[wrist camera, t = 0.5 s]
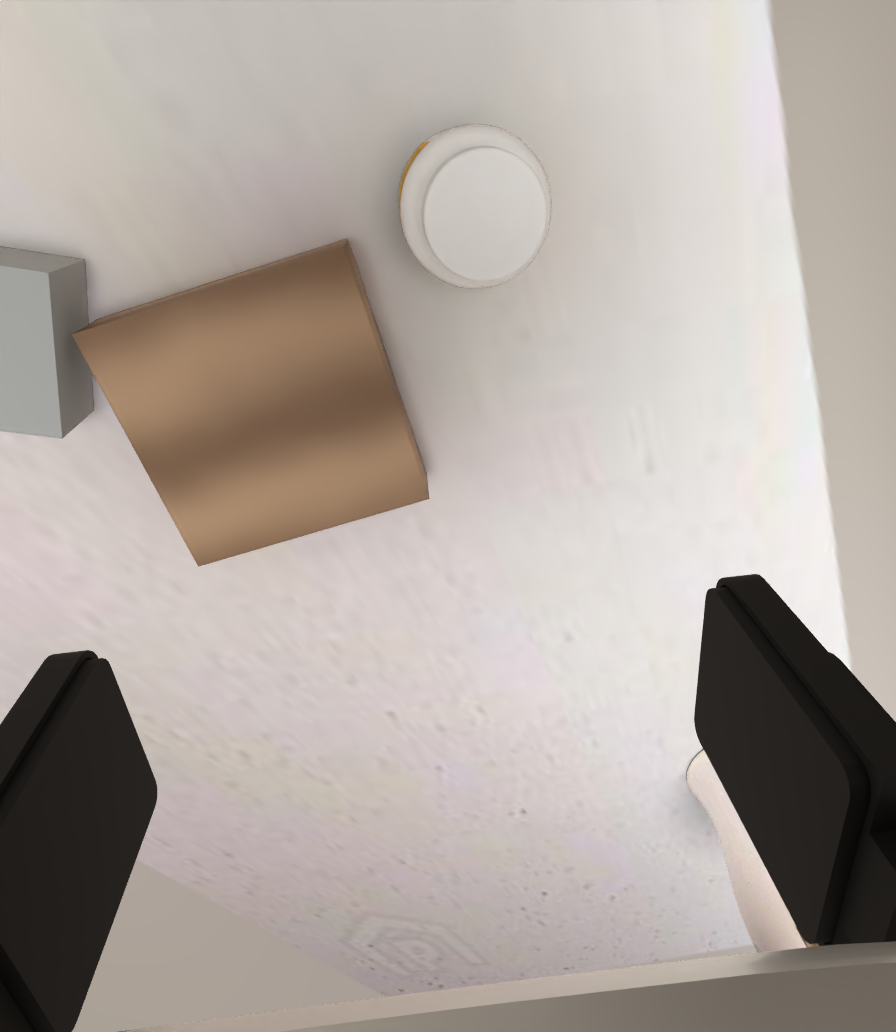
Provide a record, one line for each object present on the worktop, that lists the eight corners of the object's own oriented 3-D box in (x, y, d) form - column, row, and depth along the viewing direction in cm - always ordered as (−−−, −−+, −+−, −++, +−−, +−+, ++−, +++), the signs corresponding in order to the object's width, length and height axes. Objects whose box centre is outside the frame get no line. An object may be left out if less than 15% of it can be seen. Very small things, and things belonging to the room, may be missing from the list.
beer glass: (779, 722, 47) (931, 947, 34) (778, 792, 50) (916, 1023, 37) (676, 743, 47) (787, 975, 34) (682, 812, 51) (785, 1048, 37)
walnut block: (98, 319, 32) (71, 334, 30) (347, 238, 31) (343, 246, 29) (212, 537, 38) (198, 566, 35) (426, 473, 37) (429, 498, 34)
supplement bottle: (431, 283, 33) (445, 332, 24) (376, 166, 30) (370, 173, 22) (538, 229, 32) (593, 259, 23) (491, 103, 29) (532, 85, 21)
